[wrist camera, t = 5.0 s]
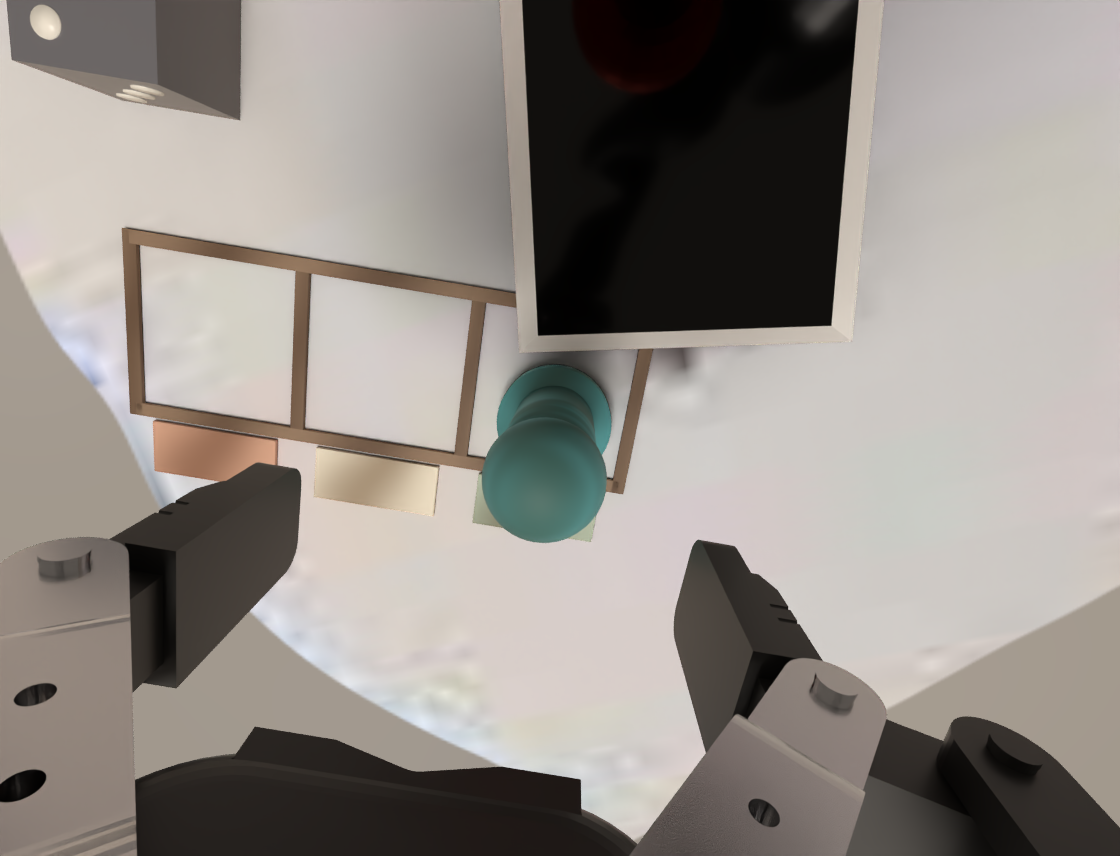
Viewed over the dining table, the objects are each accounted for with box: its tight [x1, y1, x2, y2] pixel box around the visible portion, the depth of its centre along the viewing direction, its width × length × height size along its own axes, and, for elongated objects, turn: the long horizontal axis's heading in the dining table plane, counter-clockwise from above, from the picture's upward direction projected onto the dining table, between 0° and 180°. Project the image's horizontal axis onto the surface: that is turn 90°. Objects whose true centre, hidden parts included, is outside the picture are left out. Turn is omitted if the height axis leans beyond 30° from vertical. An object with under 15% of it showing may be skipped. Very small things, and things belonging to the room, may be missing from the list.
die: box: [7, 0, 241, 120], centre depth 21 cm, size 5×5×5 cm
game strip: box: [122, 228, 653, 542], centre depth 27 cm, size 24×11×1 cm, turn 81°
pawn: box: [482, 364, 611, 543], centre depth 22 cm, size 5×5×11 cm
